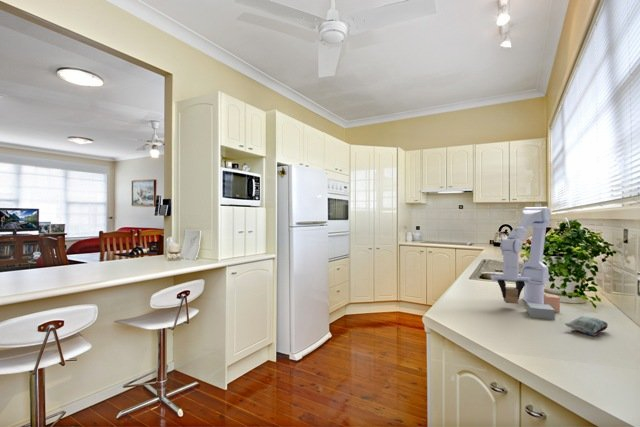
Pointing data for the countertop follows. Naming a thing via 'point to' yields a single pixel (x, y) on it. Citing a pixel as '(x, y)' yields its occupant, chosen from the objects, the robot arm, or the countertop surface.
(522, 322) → the countertop surface
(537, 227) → the robot arm
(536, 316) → the slate base block
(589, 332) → the packaged food
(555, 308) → the terracotta block
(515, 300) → the walnut block
